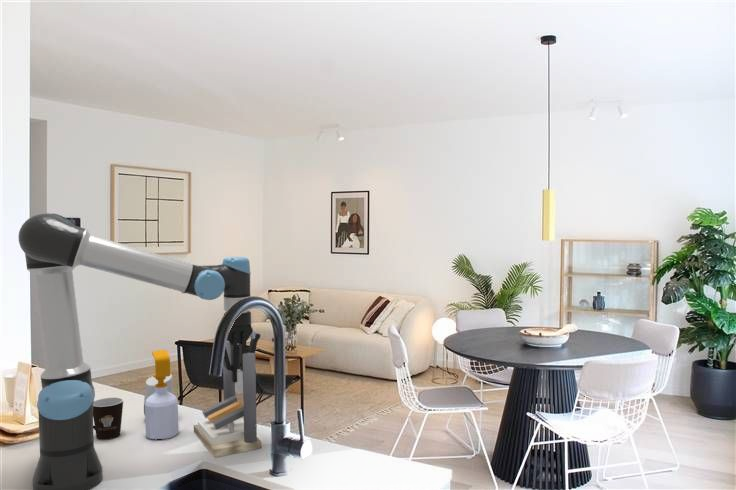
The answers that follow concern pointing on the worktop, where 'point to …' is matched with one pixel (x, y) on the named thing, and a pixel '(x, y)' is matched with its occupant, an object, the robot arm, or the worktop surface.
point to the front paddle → (228, 418)
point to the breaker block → (222, 431)
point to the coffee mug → (107, 417)
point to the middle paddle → (225, 411)
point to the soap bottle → (161, 402)
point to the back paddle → (219, 406)
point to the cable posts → (244, 392)
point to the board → (226, 445)
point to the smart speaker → (151, 387)
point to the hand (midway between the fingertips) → (239, 392)
